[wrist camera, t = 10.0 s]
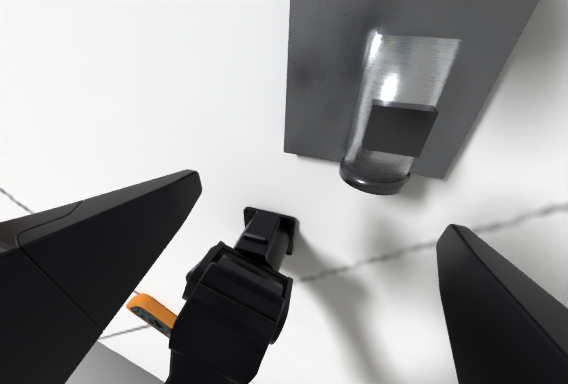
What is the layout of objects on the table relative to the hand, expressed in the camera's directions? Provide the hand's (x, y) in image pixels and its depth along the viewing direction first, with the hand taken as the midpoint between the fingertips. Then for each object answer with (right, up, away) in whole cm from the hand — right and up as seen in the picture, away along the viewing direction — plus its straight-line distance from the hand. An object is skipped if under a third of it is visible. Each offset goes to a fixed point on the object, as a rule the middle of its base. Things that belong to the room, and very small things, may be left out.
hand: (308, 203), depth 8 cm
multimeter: (-32, -31, +51) cm, 68 cm away
